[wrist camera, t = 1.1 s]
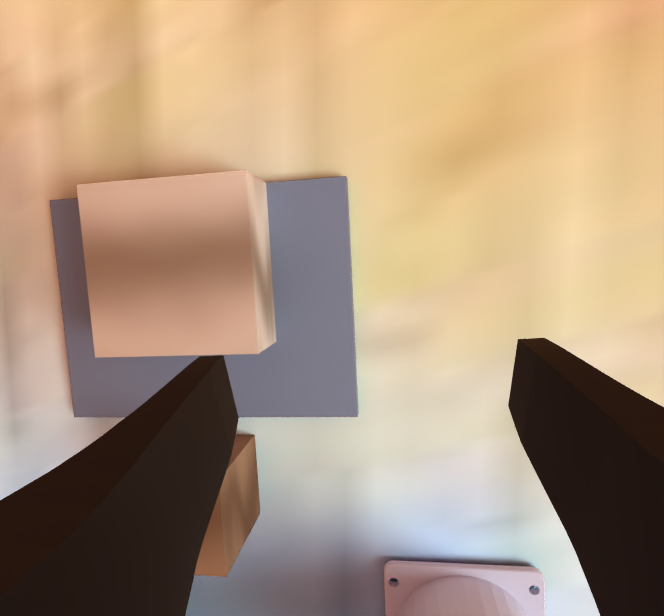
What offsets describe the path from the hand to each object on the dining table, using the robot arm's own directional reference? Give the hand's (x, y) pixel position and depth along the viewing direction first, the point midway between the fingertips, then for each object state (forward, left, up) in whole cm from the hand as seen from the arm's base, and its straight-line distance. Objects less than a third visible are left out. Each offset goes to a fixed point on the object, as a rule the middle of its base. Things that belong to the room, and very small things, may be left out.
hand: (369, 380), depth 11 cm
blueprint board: (+1, +9, -11) cm, 15 cm away
